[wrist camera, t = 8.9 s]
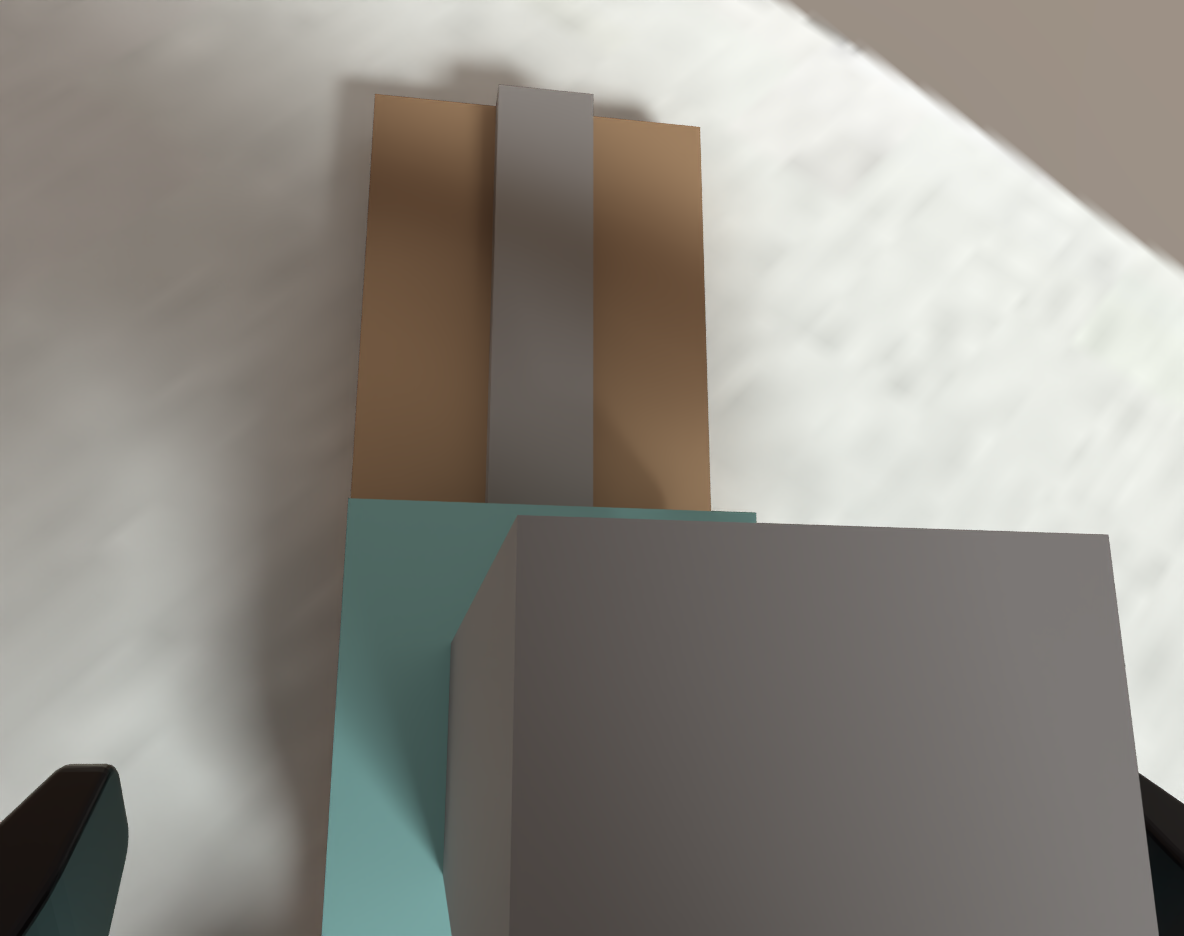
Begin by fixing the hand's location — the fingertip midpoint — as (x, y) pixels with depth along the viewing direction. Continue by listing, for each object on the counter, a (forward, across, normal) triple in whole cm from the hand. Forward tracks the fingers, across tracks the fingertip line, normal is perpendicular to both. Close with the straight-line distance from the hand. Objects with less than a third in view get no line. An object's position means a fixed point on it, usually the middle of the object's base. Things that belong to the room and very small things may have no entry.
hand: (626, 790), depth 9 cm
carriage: (+5, 0, +4) cm, 6 cm away
